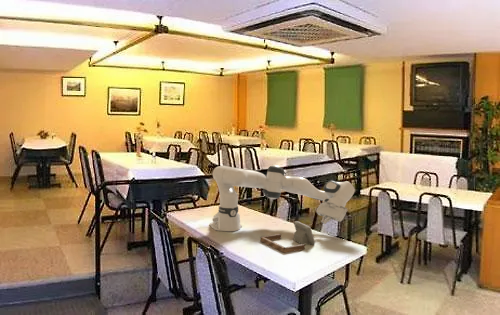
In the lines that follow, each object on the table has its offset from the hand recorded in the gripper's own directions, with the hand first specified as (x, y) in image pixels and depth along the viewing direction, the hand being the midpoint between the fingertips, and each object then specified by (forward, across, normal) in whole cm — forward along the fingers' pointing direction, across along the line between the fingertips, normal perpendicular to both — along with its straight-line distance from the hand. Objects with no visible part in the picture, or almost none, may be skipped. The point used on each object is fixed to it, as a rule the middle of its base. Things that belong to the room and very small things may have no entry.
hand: (323, 223), depth 264 cm
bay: (+27, 0, +14) cm, 31 cm away
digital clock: (+16, 0, +3) cm, 17 cm away
